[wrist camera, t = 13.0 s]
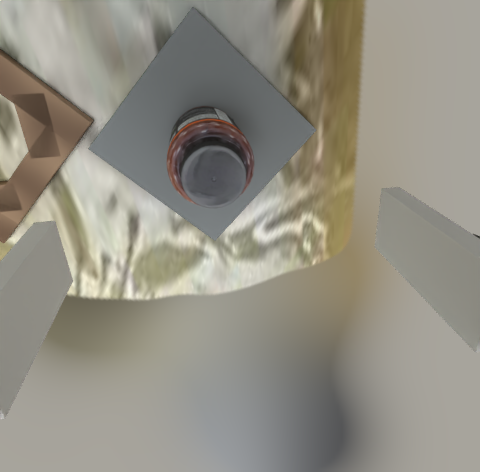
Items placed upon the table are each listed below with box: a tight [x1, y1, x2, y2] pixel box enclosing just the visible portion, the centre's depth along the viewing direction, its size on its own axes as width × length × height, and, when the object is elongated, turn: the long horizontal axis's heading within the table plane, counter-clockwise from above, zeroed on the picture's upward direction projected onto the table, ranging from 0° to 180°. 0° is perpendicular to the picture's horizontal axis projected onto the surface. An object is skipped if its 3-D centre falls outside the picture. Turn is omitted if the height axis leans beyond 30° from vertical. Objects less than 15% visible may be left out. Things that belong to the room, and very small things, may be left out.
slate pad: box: [89, 7, 316, 240], centre depth 33 cm, size 14×14×1 cm
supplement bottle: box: [167, 106, 254, 208], centre depth 28 cm, size 6×6×11 cm
